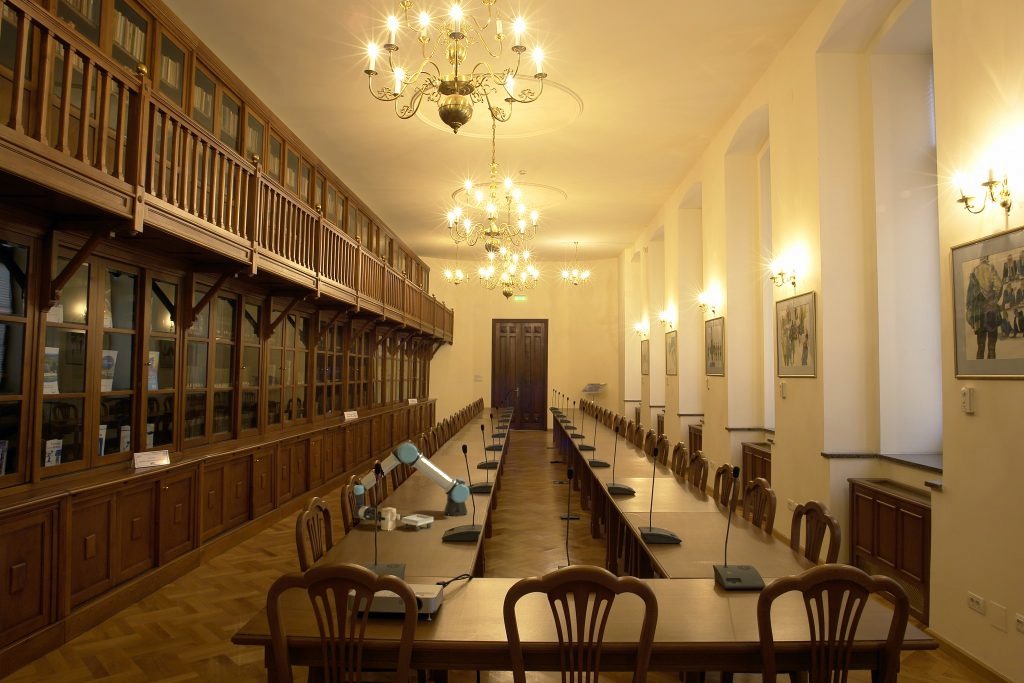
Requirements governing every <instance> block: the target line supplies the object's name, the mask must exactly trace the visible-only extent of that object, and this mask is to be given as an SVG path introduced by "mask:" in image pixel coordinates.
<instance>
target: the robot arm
mask: <svg viewBox="0 0 1024 683" xmlns="http://www.w3.org/2000/svg"><path fill="white" fill-rule="evenodd" d="M402 463H405V464H406V465H408V466H409V467H410V468H413V467H414V468H415V469H416V470H418V471H420V472H421V473H422V474H423V475H425V476H426V477H427V478H429V479H430V480H431V481H433V482H434V483H435V484H436V485H438V486H439V487H441V489H443V490H444V491H443V492H444V494H445V495H446V504H445V508H444V511H443V514H444V513H445V514H449V515H462V516H465V515H464V514H466V515H467V514H468V508H467V505H466V501H467V500H469V498H470V489H469V487H468V486H467V485H466V480H465V478H462V477H461V478H459V477H458V478H457V477H451V476H450V475H449V474H448V473H446V472H445V471H443V469H441V468H440V467H438V466H437V465H436V464H434V463H433V462H432V461H431V460H429V458H427V457H425V456H424V453H423V451H422V450H420V449H419V448H418V447H416V446H415V445H414V444H413V443H412V442H410V441H408V440H407V441H402V442H400V443H399V444H398V445H397V446H396V447H395V448H394V449H393V450H392V451H391V452H390V455H389V456H388V457H386V458H385V459H384V460H382V461H381V467H382V470H383V472H384V476H386V475H387V474H388V473H390V471H391V470H393V469H394V468H395V467H396V466H397V465H399V464H402ZM384 476H383V475H382V478H384ZM360 481H361V483H360V485H355V484H354V485H355V486H354V493H355V498H356V509H355V517H354V518H357V519H362V520H364V521H365V520H367V521H375V509H376V508H375V507H372V506H367V505H365V503H364V501H365V500H364V499H365V498H364V497H365V493H366V492H367V491H369V489H370V488H372V487H373V486H374V485H375V484H376V483H377V482H376V478H375V475H374V473H373V472H372V470H370V472H369V473H367V475H365V476H364V477H363V478H362V479H361V480H360ZM361 484H362V485H361ZM377 511H378V513H377V521H376V522H378V523H379V522H380V523H381V521H386V522H390V517H387V516H381V511H382V510H377ZM445 514H444V515H445ZM396 520H401V515H400V514H397V513H396Z"/></svg>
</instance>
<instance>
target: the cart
mask: <svg viewBox="0 0 1024 683" xmlns="http://www.w3.org/2000/svg"><path fill="white" fill-rule="evenodd" d="M433 522H434V516H430V515H425V514H419V513H416V514H411V515H407V516H404V517H403V516H402V517H401V523H403V529H408V528H409V525H414V526H415V528H414V529H415V531H417V532H419V531H420V530H421V526H422V525H425V524H426V527H427V528H429V529H430V528H431V527H432V523H433Z"/></svg>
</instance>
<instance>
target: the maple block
mask: <svg viewBox="0 0 1024 683" xmlns="http://www.w3.org/2000/svg"><path fill="white" fill-rule="evenodd" d="M380 511H381V516H387V517H390V522H386V521H381V522H380V524H381V525H380V526H381V527H380V530H381V529H382V531H386V530H388V531H387V532H390V531H394V530H396V529H397V519H396V514H397V509H396V508H394V507H389V506H388V507H384V508H381V510H380ZM393 529H394V530H393ZM389 530H390V531H389Z"/></svg>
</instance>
